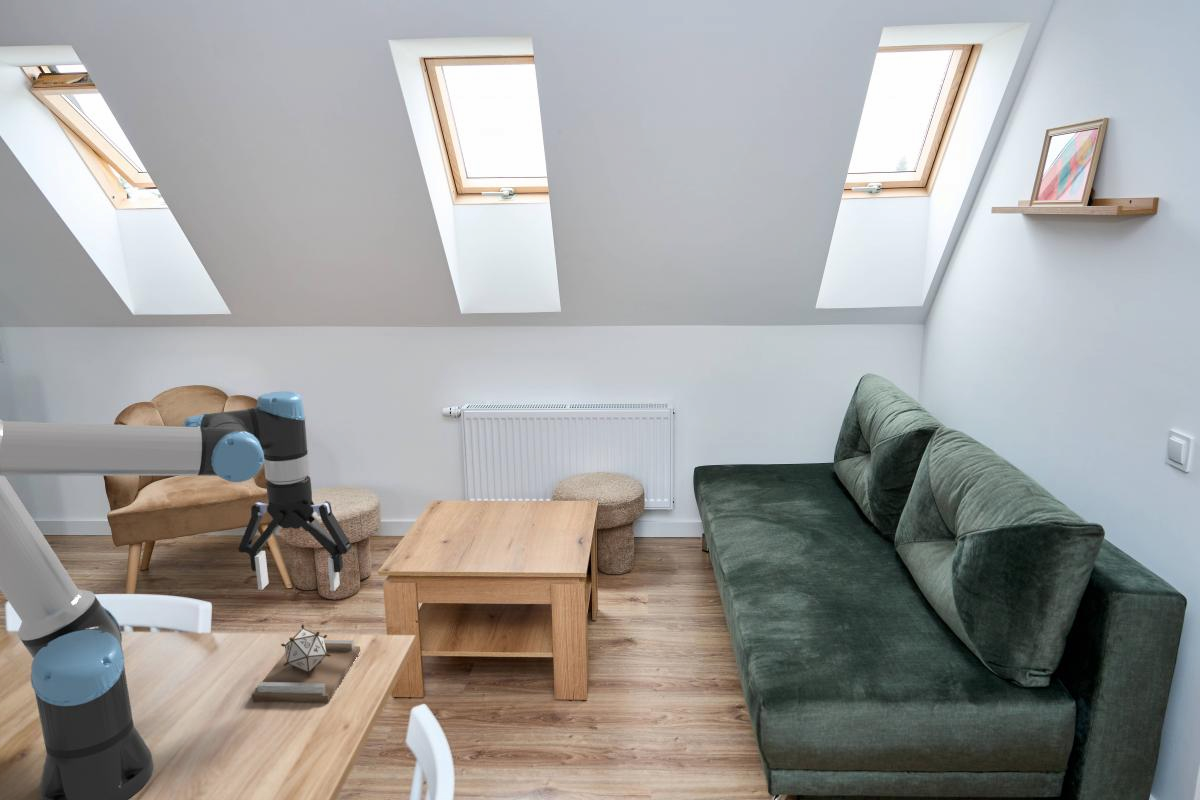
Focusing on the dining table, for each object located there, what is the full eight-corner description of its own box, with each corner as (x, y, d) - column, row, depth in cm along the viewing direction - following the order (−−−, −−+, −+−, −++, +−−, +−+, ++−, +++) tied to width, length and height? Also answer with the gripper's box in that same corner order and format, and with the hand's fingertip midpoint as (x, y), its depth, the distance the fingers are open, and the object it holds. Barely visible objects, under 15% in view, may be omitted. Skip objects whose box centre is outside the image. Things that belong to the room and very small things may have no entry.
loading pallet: (328, 703, 152) (326, 688, 151) (252, 701, 152) (250, 686, 152) (360, 653, 168) (359, 639, 168) (292, 651, 169) (290, 638, 168)
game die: (320, 684, 161) (347, 648, 159) (282, 689, 155) (309, 651, 152) (302, 648, 166) (328, 612, 164) (264, 651, 159) (290, 614, 157)
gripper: (363, 471, 154) (371, 579, 159) (230, 470, 156) (243, 577, 160) (348, 485, 147) (358, 597, 152) (210, 484, 148) (223, 595, 153)
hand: (299, 587), depth 156 cm, fingers open, 13 cm apart
